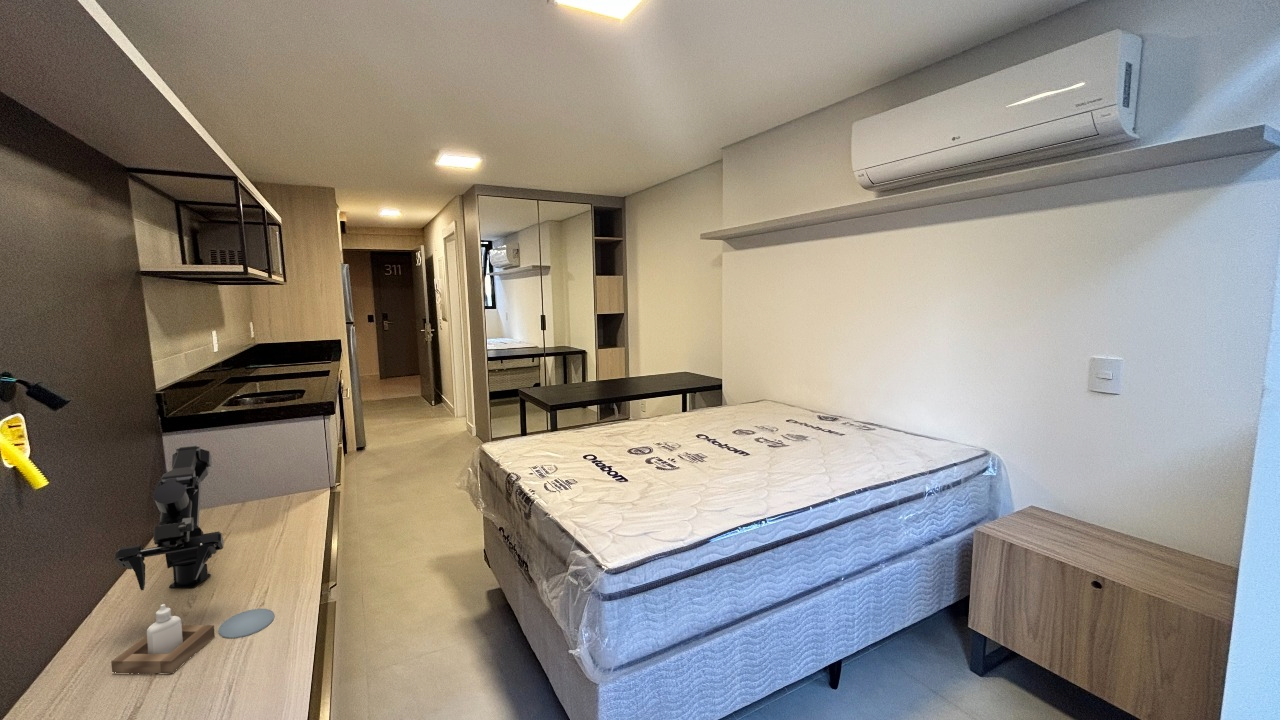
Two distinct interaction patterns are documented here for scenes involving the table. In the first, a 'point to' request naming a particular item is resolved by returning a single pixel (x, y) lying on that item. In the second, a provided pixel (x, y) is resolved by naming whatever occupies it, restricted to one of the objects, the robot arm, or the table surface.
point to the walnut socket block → (146, 663)
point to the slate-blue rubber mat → (246, 623)
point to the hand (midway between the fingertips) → (169, 584)
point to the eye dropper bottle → (164, 632)
